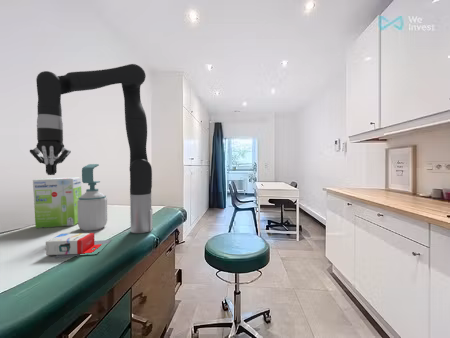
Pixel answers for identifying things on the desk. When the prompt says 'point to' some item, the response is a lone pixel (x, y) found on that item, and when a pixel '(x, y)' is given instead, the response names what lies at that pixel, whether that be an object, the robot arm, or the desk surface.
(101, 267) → the desk surface
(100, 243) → the mat
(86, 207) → the soap bottle
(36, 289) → the desk surface
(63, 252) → the ink box
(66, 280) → the desk surface
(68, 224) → the toothbrush box
